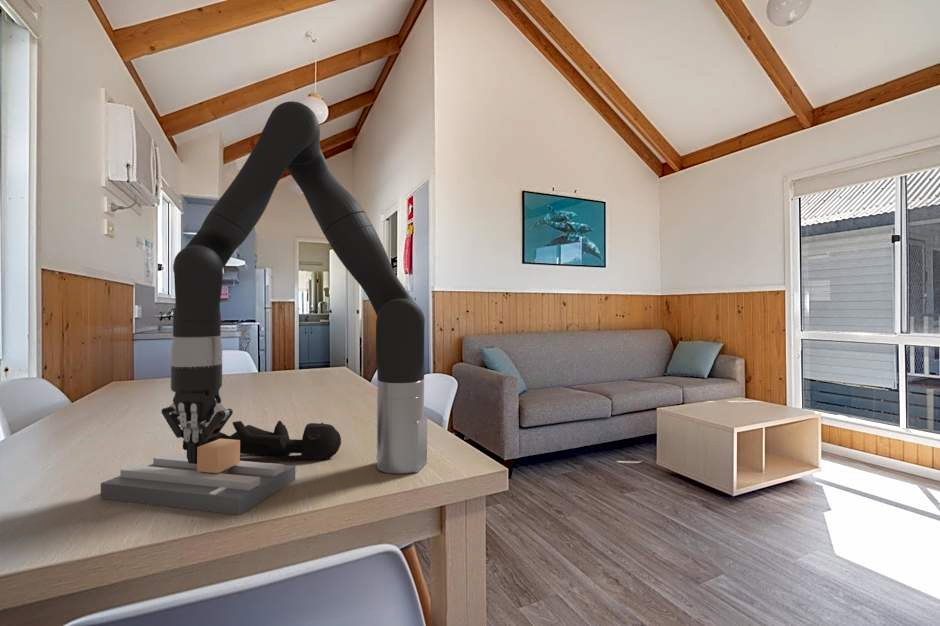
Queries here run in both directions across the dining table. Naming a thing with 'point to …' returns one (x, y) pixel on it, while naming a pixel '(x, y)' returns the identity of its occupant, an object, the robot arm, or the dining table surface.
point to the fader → (218, 456)
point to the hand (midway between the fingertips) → (196, 462)
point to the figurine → (285, 441)
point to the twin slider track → (198, 485)
